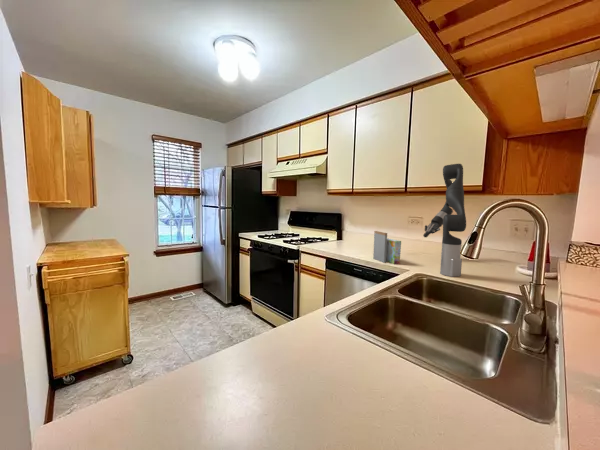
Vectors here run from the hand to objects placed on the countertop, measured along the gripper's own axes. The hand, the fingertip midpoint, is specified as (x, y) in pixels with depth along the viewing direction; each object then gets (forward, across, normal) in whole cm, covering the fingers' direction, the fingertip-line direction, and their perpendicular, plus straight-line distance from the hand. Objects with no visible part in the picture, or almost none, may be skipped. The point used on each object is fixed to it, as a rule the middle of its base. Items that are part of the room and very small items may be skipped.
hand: (424, 236), depth 182 cm
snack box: (+32, -2, -9) cm, 33 cm away
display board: (+35, -2, -12) cm, 38 cm away
